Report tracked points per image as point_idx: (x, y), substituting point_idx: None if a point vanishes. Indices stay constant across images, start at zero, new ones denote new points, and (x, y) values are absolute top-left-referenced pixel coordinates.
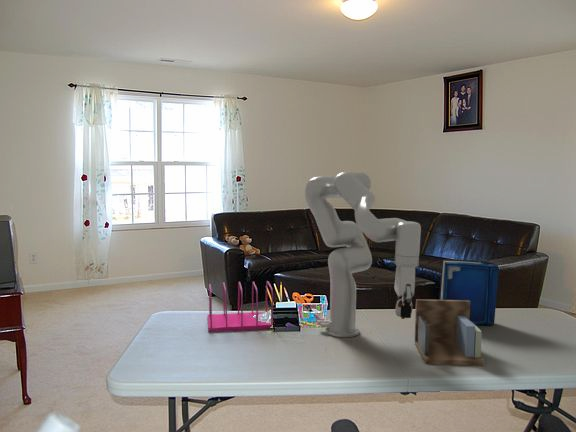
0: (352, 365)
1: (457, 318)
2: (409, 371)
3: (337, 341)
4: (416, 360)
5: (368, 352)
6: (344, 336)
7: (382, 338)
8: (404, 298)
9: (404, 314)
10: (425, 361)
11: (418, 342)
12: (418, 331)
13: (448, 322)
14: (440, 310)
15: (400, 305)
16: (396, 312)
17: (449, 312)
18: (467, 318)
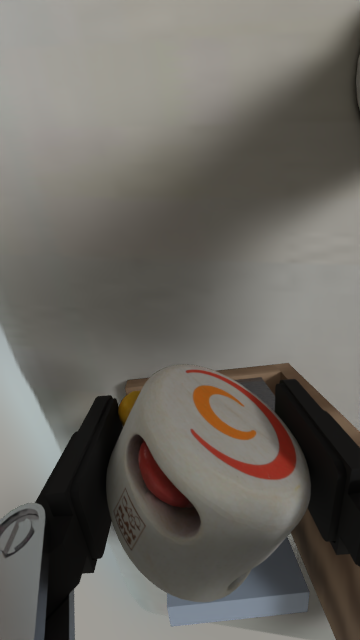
0: (42, 131)
1: (297, 579)
2: (56, 334)
3: (307, 41)
4: (149, 359)
5: (190, 200)
6: (358, 74)
7: (343, 259)
8: (344, 542)
9: (72, 440)
10: (126, 384)
11: (252, 382)
12: (274, 405)
13: (314, 524)
14: (355, 566)
15: (139, 464)
16: (149, 378)
17: (342, 582)
18: (320, 594)
